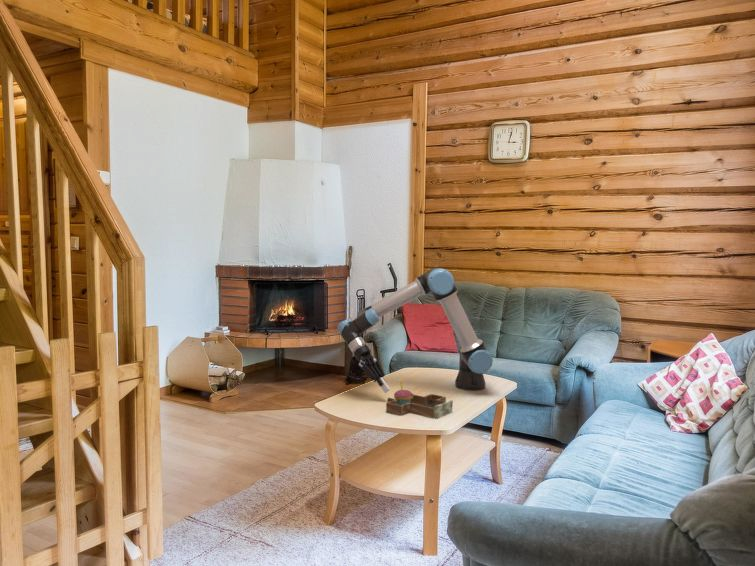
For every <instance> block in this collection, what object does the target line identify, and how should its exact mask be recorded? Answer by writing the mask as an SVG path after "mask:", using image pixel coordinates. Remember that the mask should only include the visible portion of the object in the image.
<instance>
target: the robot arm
mask: <svg viewBox="0 0 755 566" xmlns="http://www.w3.org/2000/svg"><path fill="white" fill-rule="evenodd" d="M458 290H459V289H458V288H457V285H456V284H455V278H454V276H453V274H452V273H451V272H450V271H449V270H447V269H444V268H441V267H440V268H439V267H432V268H430V269H429V270H427V271H425V272H424V273H423V274H420V275H419V276H418V277H416V278H414V281H413V282H411V283H409V284H408V285H405V286H403V287H401V288H400V289H398V290H396V291H394V292H392V293H391V294H389V295H387V296H385V297H383V298H382V299H380V300H378V301H376V302H374V303H372V304H371V305H368V306H367V307H365V308H361V309H359V310H358V312H357V314H356V318H355V319H353V320H351V319H349V318H346V319H344V320H342V321H340V322H339V323H338V325H337V326H336V327H337V331H338V332H339V335H340V336H341V338H342V339H343V341H344V343H345V344H346V345H347V347H348V348H349V349H350V351H351V353H352V354H353V356H354V357H355V359H356V360H357V361H359V363H358V365H357V366H358V368H360V369H361V370H362V372H364V374H366V375H367V376H368V378H369V379H370V380H371V381H373V382H374V383H377V384H378V386H379V387H380V388H381V390H382V391H383V392H384V394H387V393H388V392H389V391H390V390H391V388H390V386H389V385H388V383H387V381H386V380H385V379H384V376H385V375H386V374H385V371H384V369H383V367H382V365H381V363H380V359H379V358H378V357H376V358H374V356H373V355H372V354H371V353H372V351H371V349H370V348H369V346H368V345H367V344H366V341H365V340H364V339H363V337H362V335H361V334H364V332H367V331H368V330H369V329H371V328H372V327H373V326H375V325H376V324H377V323H378V322H380V318H381V317H383V316H386V315H387V314H389V313H390V312H393V311H394V310H397V309H399V308H400V307H402V306H405V304H407V303H410V302H411V301H413V300H415V299H417V298H419V297H420V296H422V295H423V296H426V295H428V294H430V293H431V295H432V296H433V298H434V301H435V302H437V303H440V305H441V308H442V309H443V311H444V313H445V315H446V318H447V319H448V322H449V324H450V325H451V328H452V330H453V332H454V334H455V336H456V338H457V339H458V340H457V341H458V342H459V366H458V367H459V369H458V373H457V375H456V378H455V382H454V386H455V387H456V388H459V389H463V390H468V389H469V390H468V391H470V390H473V391H480V390H484V389H485V388H486V383H487V382H486V380H485V376H484V373H485V374H486V373H487V372H488V371H490V369H491V368H492V366H493V362H494V359H493V357H492V356H493V355H492V354H491V353H490V352H489V351H488V349H487V347H486V345H485V343H484V342H483V340H482V339H479V338H478V336H477V334H476V332H475V330H474V328H473V326H472V323H471V322H470V320H469V318H468V316H467V313H466V311H465V310H464V308H463V305H462V304H461V302H460V299H459V297H458V295H457V293H458Z"/></svg>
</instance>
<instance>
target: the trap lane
mask: <svg viewBox="0 0 755 566" xmlns="http://www.w3.org/2000/svg"><path fill="white" fill-rule="evenodd" d="M413 396H414V397H413V399H411V401H410V402H409V403H406V404H404V405H401V406H400V405H398V400H397V399H395V398H391V397H387V401H386V403H385V404H386V406H385V408H386V409H385V410H386V411H385V412H386V413H387V414H392V415H395V416H402V417H403V416H404V415H408V414H414V415H418V416H422V417H427V418H430V419H434V418H435V419H434V420H436V418H437V419H439V418H442V417H444V416H447V415H449V414H451V412H452V413H453V403H454V401H453V400H448V401H447V397H446V396H443V395H439V394H435V393H430V394H427V395H423V396H422V395H417V394H414V393H413ZM446 414H447V415H446ZM441 416H442V417H441Z"/></svg>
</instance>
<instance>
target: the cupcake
mask: <svg viewBox="0 0 755 566" xmlns="http://www.w3.org/2000/svg"><path fill="white" fill-rule="evenodd" d="M403 387H404V386H403V380H402V379H400V389H399V390H397V391H395V393H393V399H397V400H398V405H400V406H401V405H404V404H406V403H409V402H410V401H411V399H413V397H414V396H413V394H414V393H412V392H411V391H410V390H408V389H403Z"/></svg>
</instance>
